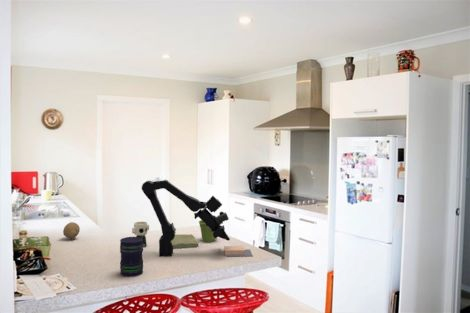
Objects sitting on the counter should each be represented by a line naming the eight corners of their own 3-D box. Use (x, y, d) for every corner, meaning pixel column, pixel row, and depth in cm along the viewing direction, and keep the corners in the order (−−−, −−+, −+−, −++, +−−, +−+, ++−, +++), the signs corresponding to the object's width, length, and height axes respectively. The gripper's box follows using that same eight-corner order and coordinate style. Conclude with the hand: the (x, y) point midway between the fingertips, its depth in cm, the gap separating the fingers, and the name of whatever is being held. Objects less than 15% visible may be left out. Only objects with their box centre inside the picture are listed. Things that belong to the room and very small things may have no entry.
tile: (225, 250, 201) (244, 250, 202) (224, 246, 209) (243, 245, 210) (225, 255, 201) (244, 254, 202) (224, 250, 209) (243, 250, 210)
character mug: (136, 249, 211) (136, 225, 211) (128, 247, 216) (128, 223, 215) (152, 245, 219) (152, 222, 219) (145, 243, 224) (145, 220, 223)
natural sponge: (79, 240, 228) (79, 223, 228) (62, 242, 225) (62, 224, 224) (79, 237, 237) (79, 220, 236) (63, 238, 233) (63, 221, 233)
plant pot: (194, 240, 231) (194, 221, 231) (210, 237, 239) (210, 218, 238) (206, 244, 222) (206, 224, 222) (222, 241, 230) (223, 221, 230)
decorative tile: (192, 239, 236) (192, 233, 236) (198, 248, 216) (198, 241, 216) (161, 241, 231) (161, 235, 231) (164, 250, 211) (164, 244, 211)
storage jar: (120, 277, 169) (119, 243, 168) (120, 270, 178) (119, 237, 178) (144, 275, 172) (144, 241, 171) (142, 268, 181) (142, 236, 180)
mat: (227, 256, 200) (227, 256, 200) (225, 250, 210) (225, 249, 210) (252, 256, 201) (252, 255, 201) (250, 250, 212) (250, 249, 212)
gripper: (220, 211, 194) (242, 233, 196) (218, 204, 213) (238, 225, 214) (203, 226, 194) (226, 249, 195) (203, 219, 213) (223, 239, 214)
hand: (229, 239), depth 205 cm, fingers closed
